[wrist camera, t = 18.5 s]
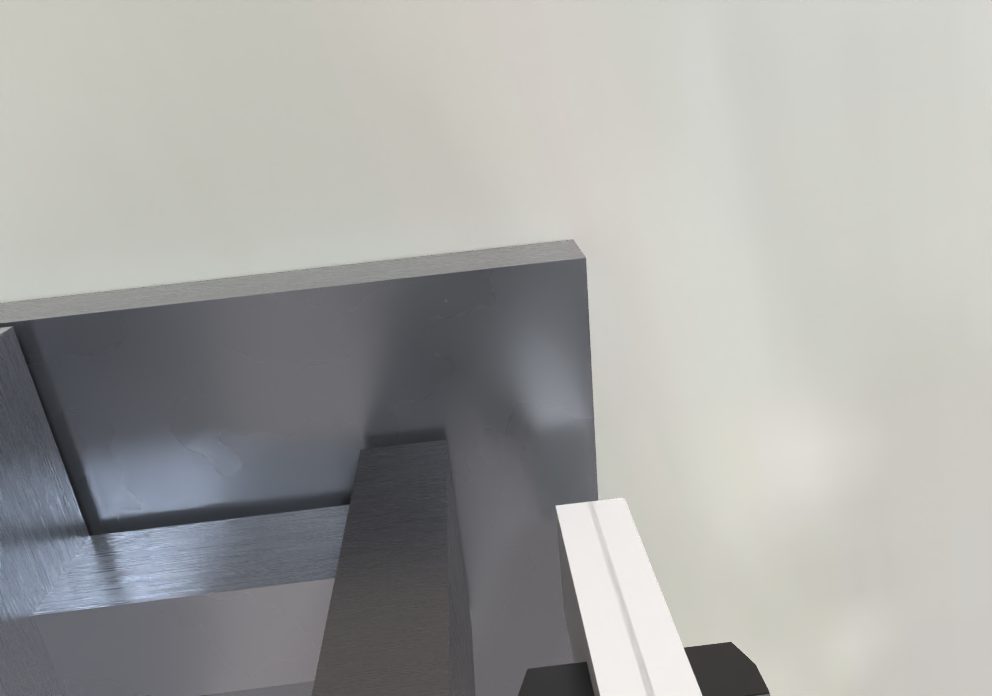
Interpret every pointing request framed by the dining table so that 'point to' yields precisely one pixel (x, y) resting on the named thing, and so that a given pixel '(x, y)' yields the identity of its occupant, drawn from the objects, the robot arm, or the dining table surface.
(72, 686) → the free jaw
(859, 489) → the dining table surface
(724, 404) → the dining table surface
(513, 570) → the vise base
